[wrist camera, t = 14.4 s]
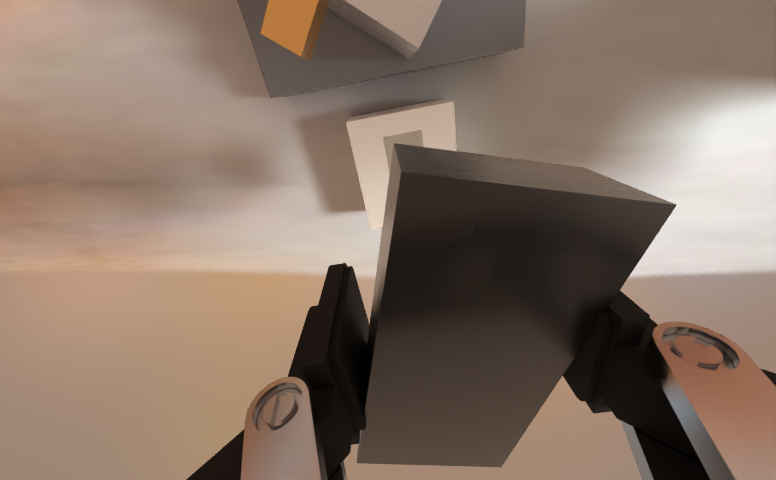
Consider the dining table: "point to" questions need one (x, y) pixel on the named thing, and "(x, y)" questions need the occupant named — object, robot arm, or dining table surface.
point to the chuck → (359, 7)
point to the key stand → (400, 126)
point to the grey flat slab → (374, 59)
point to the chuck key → (487, 297)
